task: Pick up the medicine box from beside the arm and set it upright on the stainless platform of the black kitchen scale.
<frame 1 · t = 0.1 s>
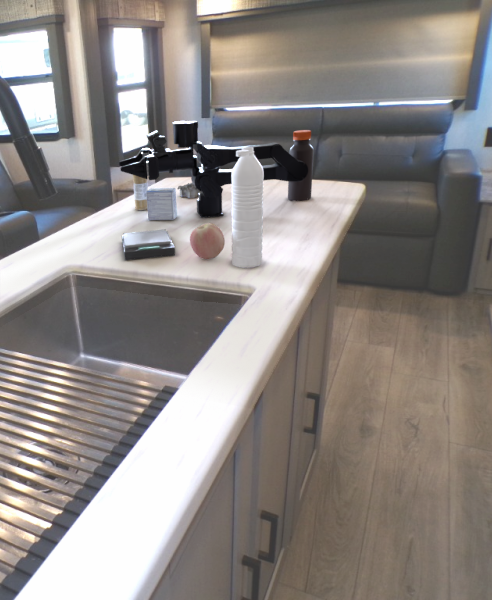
hand: (119, 166, 152), 17 cm above the worktop, tool horizontal, fingers open, 9 cm apart
water bottle: (245, 265, 118), on the worktop
vinegar: (299, 199, 165), on the worktop
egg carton: (194, 194, 184), on the worktop
medicine box: (162, 219, 159), on the worktop
kitchen scale: (147, 248, 134), on the worktop
sprinkles bottle: (142, 209, 172), on the worktop
apple: (207, 258, 124), on the worktop
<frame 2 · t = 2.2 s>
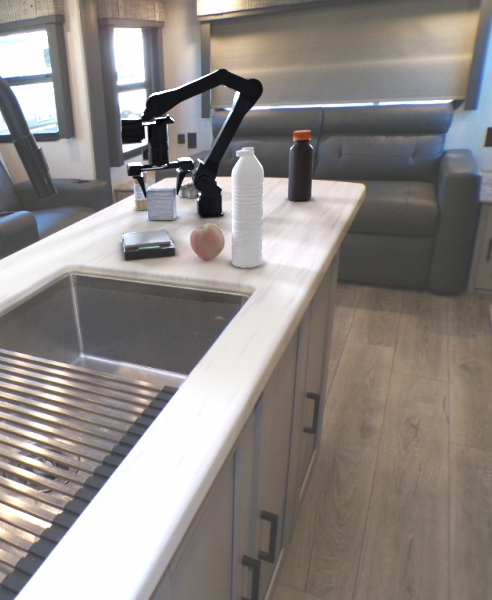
hand: (161, 196, 156), 7 cm above the worktop, tool pointing down, fingers open, 9 cm apart
nothing on the worktop moved.
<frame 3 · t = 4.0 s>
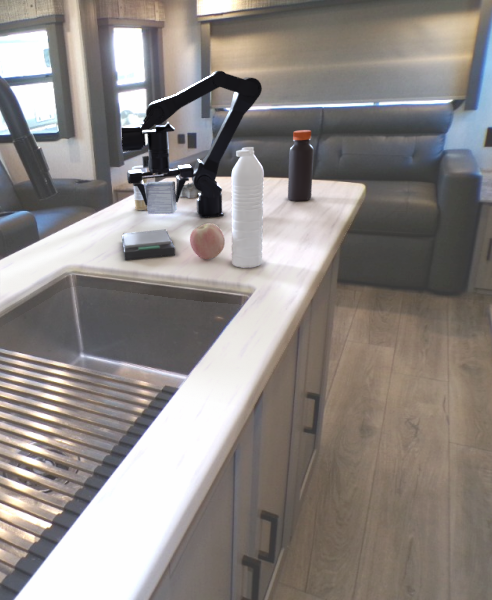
hand: (161, 203, 157), 4 cm above the worktop, tool pointing down, fingers closed on medicine box, 9 cm apart
medicine box: (162, 213, 158), point 2 cm above the worktop, touching gripper
everything else where it was.
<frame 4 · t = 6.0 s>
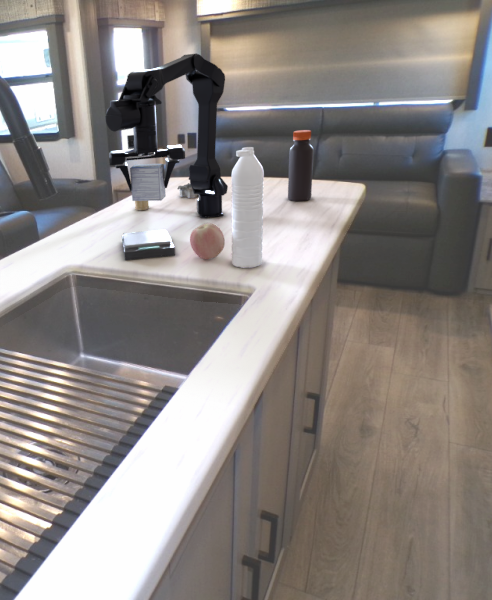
hand: (148, 189, 138), 13 cm above the worktop, tool pointing down, fingers closed on medicine box, 9 cm apart
medicine box: (149, 200, 139), point 10 cm above the worktop, touching gripper
everything else where it was.
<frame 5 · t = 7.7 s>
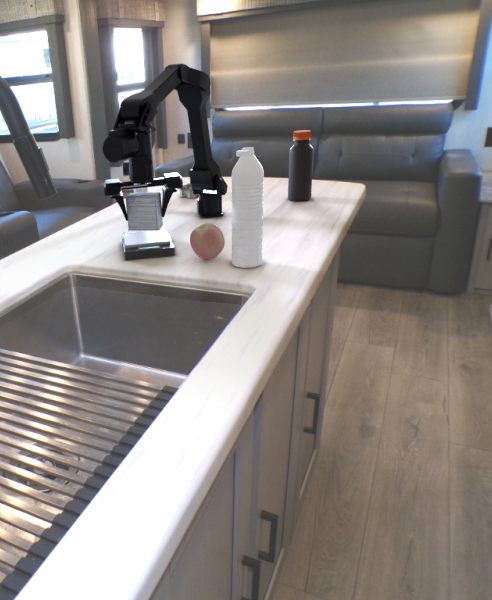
hand: (145, 218, 133), 7 cm above the worktop, tool pointing down, fingers closed on medicine box, 9 cm apart
medicine box: (145, 229, 134), point 5 cm above the worktop, touching gripper
everything else where it was.
when the fingers open (5 cm above the worktop, at t = 9.0 s): medicine box stays where it is, resting on kitchen scale.
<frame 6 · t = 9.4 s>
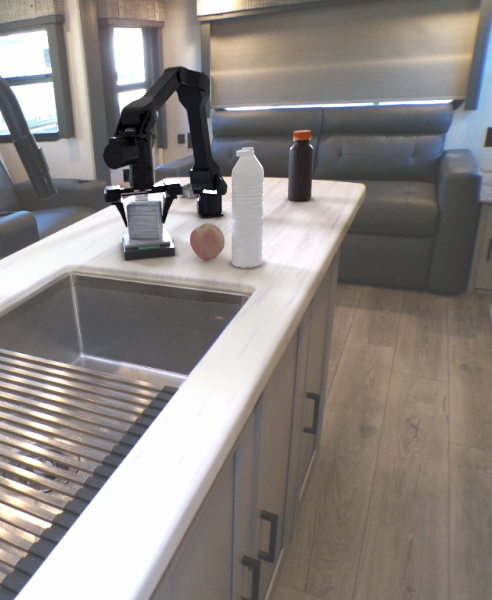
hand: (145, 225, 133), 6 cm above the worktop, tool pointing down, fingers open, 9 cm apart
medicine box: (146, 237, 135), point 3 cm above the worktop, touching kitchen scale
everything else where it was.
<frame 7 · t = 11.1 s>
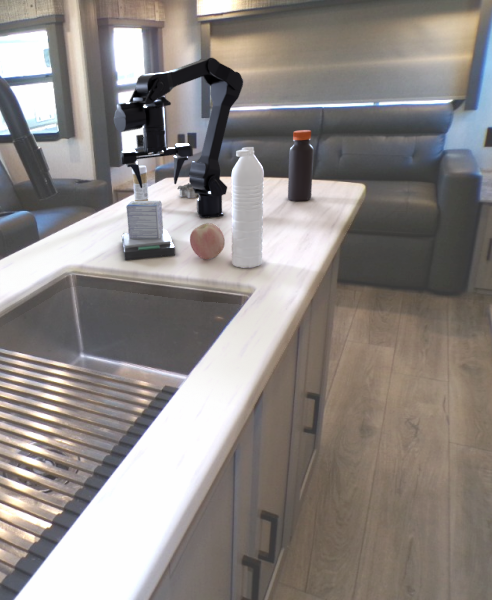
hand: (158, 186, 146), 12 cm above the worktop, tool pointing down, fingers open, 9 cm apart
nothing on the worktop moved.
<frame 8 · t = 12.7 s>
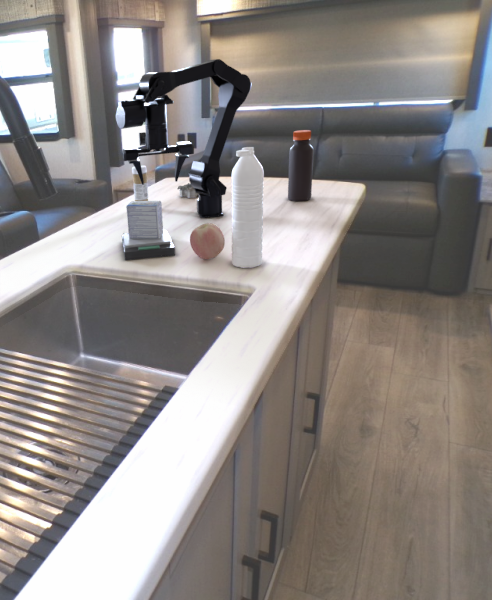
hand: (159, 183, 148), 12 cm above the worktop, tool pointing down, fingers open, 9 cm apart
nothing on the worktop moved.
at the end: medicine box inside the target area on the kitchen scale (0.1 cm from its centre), point 2.5 cm above the kitchen scale's base; medicine box tilted 0°; the gripper is holding nothing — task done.
